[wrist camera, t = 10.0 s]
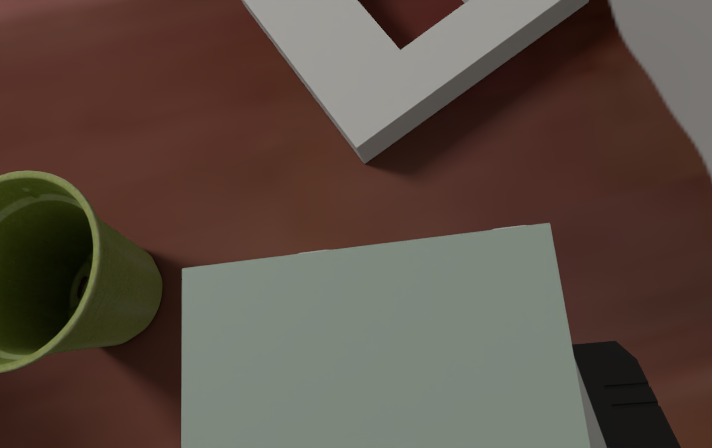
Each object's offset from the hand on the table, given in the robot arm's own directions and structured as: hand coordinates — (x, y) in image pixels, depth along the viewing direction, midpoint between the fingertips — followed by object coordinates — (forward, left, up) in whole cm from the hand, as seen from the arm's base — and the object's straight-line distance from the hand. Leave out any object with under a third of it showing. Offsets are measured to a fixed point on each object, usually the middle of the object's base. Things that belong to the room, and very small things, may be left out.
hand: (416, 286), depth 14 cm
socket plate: (0, +20, -16) cm, 26 cm away
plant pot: (-19, +4, -16) cm, 25 cm away
